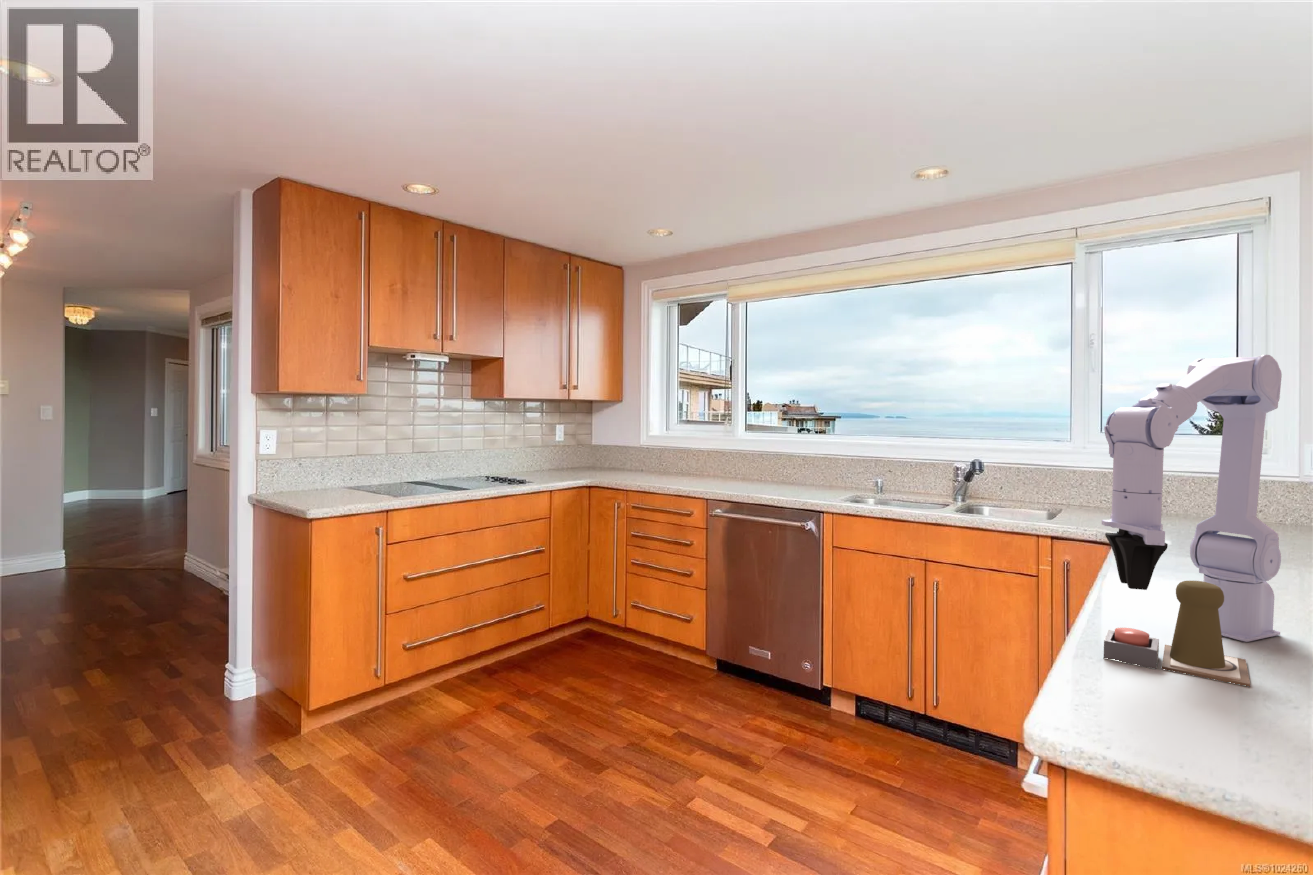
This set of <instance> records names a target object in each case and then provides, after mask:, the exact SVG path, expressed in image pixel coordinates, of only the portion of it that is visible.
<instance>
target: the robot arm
mask: <svg viewBox="0 0 1313 875" xmlns="http://www.w3.org/2000/svg"><path fill="white" fill-rule="evenodd" d="M1282 375H1283V374H1282V370H1281V368H1280V366H1279V363H1278V361H1277V359H1275V358H1274V357H1273V356H1272V355H1270V354H1261V355H1254V356H1236V357H1220V358H1197V359H1195V360H1194V361H1193V362H1191V363H1189V364H1188V367H1187V372H1186V376H1185V377H1184V378H1182V379H1181V380H1180V381H1179V382H1178V383H1177V384H1172V383H1160V384H1158V385H1157V386H1156V387H1155V390H1154V391H1152V392H1151V393H1149V394H1148V395H1147V396H1145V397H1142V398H1140V399H1139V400H1137V403H1135V404H1133V405H1132V406H1131V407H1127V406H1125V407H1119V408H1117V409H1116V410H1115V411H1112V412H1111V413H1110V414H1109V416H1108V417H1107V420H1106V423H1105V425H1104V429H1103V430H1104V436H1105V439H1106V441H1107V443H1108V454H1109V457H1110V458H1112V459H1113V460H1112V461H1113V462H1112V486H1111V487H1112V491H1111V492H1112V493H1111V494H1112V496H1111V514H1110V518H1109V519H1101V525H1102V526H1104V527H1111V528H1113V529H1115V528H1116V529H1118V531H1117V530H1116V532H1106V533H1104V535H1105V538H1106V539H1107V541H1108V543H1109V544H1110V548H1111V550H1112V552H1113V555H1114V559H1115V563H1116V570H1117V573H1118V578H1119V580H1120V582H1121V584H1127V587H1128V588H1129V589H1130V590H1141V591H1142V590H1144V591H1147V590H1148V588H1149V585H1150V584H1151V580H1152V576H1153V574H1154V570H1155V568H1156V565H1157V563H1158V562H1159V560H1160V558H1161V557H1162V555H1163V554H1164V553H1165V552H1166V551H1167V549H1168V543H1166V531H1165V530H1164V524H1162V513H1163V512H1162V507H1163V485H1164V484H1163V483H1164V482H1163V480H1164V478H1163V477H1164V451H1165V450H1164V449H1165V448H1167V447H1169V446H1171V444H1172V442H1173V440H1174V437H1175V435H1176V433H1177V431H1178V429H1179V426H1181V425H1182V424H1184V423H1185V422H1186V421H1187V420H1189V419H1190V418H1192V417H1193V415H1195V414H1196V412H1197V410H1198V404H1199V402H1200V403H1201V404H1202V405H1204V406H1205V407H1206V408H1207V409H1208V410H1211V411H1215V412H1218V413H1219V414H1220V415H1221V417H1222V419H1223V424H1222V434H1221V435H1222V436H1221V447H1220V456H1219V457H1220V458H1219V459H1220V460H1219V467H1218V468H1219V469H1218V478H1217V490H1216V492H1217V493H1216V502H1215V512H1214V513H1215V514H1213V515H1212V516H1210V517H1208V518H1205V519H1204V520H1201V521H1200V522H1198V523H1197V524H1196V526H1195V530H1194V531H1195V532H1194V536H1193V538H1192V540H1191V543H1190V546H1189V555H1190V556H1189V557H1190V559H1191V562H1192V563H1193V565H1194V566H1195V567H1196V568H1198V574H1201V575H1202V574H1203V582H1207V583H1211V584H1214V585H1216V586H1218V587H1220V588H1221V590H1222V591H1223V594H1224V602H1223V605H1222V606H1221V607H1220V608H1219V609H1218V611H1219V619H1220V627H1221V635H1222V636H1223V637H1226V638H1230V639H1234V640H1237V641H1241V642H1245V643H1246V642H1247V643H1248V642H1253V641H1257V640H1261V639H1266V638H1270V637H1275V636H1279V635H1280V636H1281V631H1279V630H1275V629H1274V613H1275V593H1274V590H1273V588H1272V586H1271V585H1270V584H1269V582H1268V581H1271V580H1273V578H1275V577H1276V576H1277V575H1278V573H1279V570H1280V567H1281V562H1282V556H1281V554H1282V553H1281V550H1280V541H1279V540H1280V539H1279V533H1278V532H1276V531H1275V530H1274V529H1273V528H1272V527H1270V526H1269V525H1267V524H1266V523H1265V522H1263V521H1262V520H1261V519H1259V517H1258V515H1257V513H1258V504H1259V503H1258V502H1259V490H1260V484H1261V483H1260V480H1261V469H1262V458H1263V447H1264V437H1265V436H1264V435H1265V425H1266V416H1267V413H1270V412H1272V411H1275V410H1277V409H1278V408H1279V401H1280V398H1281V385H1282ZM1222 533H1227V534H1222ZM1229 534H1233V535H1229ZM1234 534H1235V536H1234ZM1236 535H1237V536H1236ZM1238 535H1241V536H1238ZM1242 535H1243V536H1247V537H1243V536H1242ZM1249 537H1251V538H1249Z"/></svg>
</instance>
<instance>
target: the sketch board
mask: <svg viewBox="0 0 1313 875" xmlns="http://www.w3.org/2000/svg"><path fill="white" fill-rule="evenodd" d="M1171 646H1172V645H1169V644H1164V649H1163V656H1162V662H1161V670H1163V669H1165V670H1164V671H1168V670H1170V671H1169V672H1173V671H1175V672H1174V673H1179V674H1183V673H1186V674H1185V675H1188V674H1190V675H1189V676H1192V675H1194V676H1193V677H1197V676H1198V678H1203V679H1207V678H1209V679H1208V680H1212V679H1215V680H1214V681H1217V680H1218V681H1217V682H1222V681H1223V682H1222V683H1227V682H1231V683H1230V684H1232V683H1235V684H1234V685H1237V684H1240V685H1239V686H1242V685H1246V686H1245V687H1247V686H1249V687H1248V688H1251V681H1250V676H1249V669H1248V666H1247V660H1246V659H1245V658H1242V657H1241V658H1240V657H1234V656H1229V655H1225V654H1224V658H1225V666H1226V667H1224V668H1220V669H1210V668H1202V667H1196V666H1192V665H1188V664H1184V663H1181V662H1179V661H1176V660H1174V659H1172V658H1171V657H1170V651H1171Z"/></svg>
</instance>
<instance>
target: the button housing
mask: <svg viewBox="0 0 1313 875" xmlns="http://www.w3.org/2000/svg"><path fill="white" fill-rule="evenodd" d="M1159 646H1160V639H1159V638H1156V637H1150V636H1149V647H1143V646H1137V645H1132V644H1127V643H1121V642H1116V641H1115V630H1111V629H1108V631H1107V632H1106V635H1105V637H1104V640H1103V659H1104V658H1108V659H1115V660H1119V661H1122V662H1121V663H1123V662H1126V663H1125V664H1128V663H1129V664H1128V665H1133V664H1137V665H1136V666H1138V665H1140V666H1139V667H1142V666H1143V668H1147V667H1148V668H1147V669H1152V668H1155V669H1154V670H1157V667H1158V660H1159V652H1160V650H1159V648H1160V647H1159ZM1108 659H1107V660H1108Z"/></svg>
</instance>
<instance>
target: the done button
mask: <svg viewBox="0 0 1313 875" xmlns="http://www.w3.org/2000/svg"><path fill="white" fill-rule="evenodd" d="M1114 631H1115V641H1116V642H1121V643H1127V644H1132V645H1137V646H1143V647H1149V637H1150V634H1149V633H1148V632H1146V631H1143V630H1141V629H1135V628H1131V627H1116V628H1115V629H1114Z"/></svg>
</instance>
